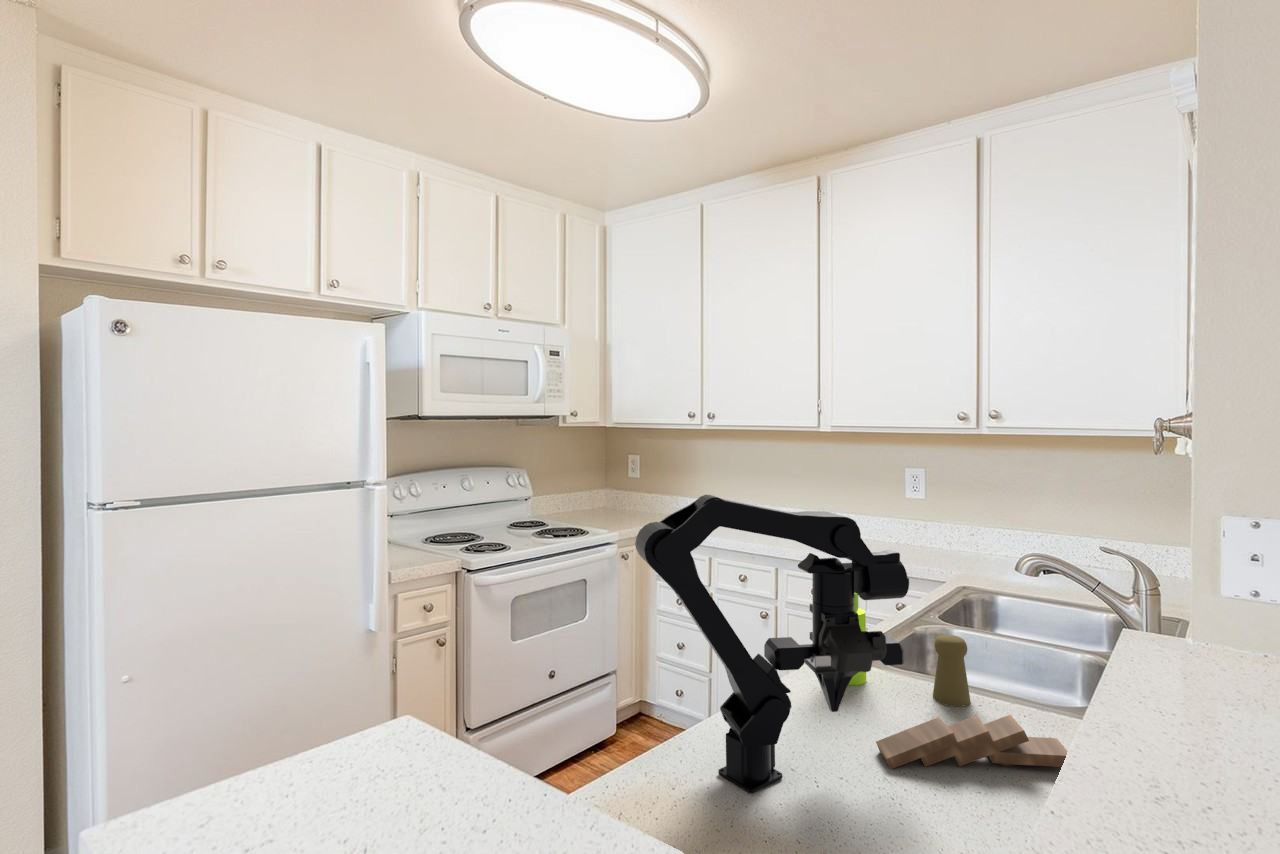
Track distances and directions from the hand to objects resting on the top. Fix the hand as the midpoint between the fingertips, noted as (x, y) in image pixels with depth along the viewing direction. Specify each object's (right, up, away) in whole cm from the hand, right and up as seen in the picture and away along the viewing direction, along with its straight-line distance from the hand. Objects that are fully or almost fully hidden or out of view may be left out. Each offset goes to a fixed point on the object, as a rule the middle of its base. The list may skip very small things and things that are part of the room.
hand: (833, 710), depth 95 cm
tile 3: (+17, -7, +1) cm, 19 cm away
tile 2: (+13, -7, +2) cm, 15 cm away
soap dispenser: (+13, -8, +31) cm, 34 cm away
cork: (+27, -7, +22) cm, 35 cm away
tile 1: (+8, -7, +1) cm, 10 cm away
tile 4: (+22, -6, +1) cm, 23 cm away
